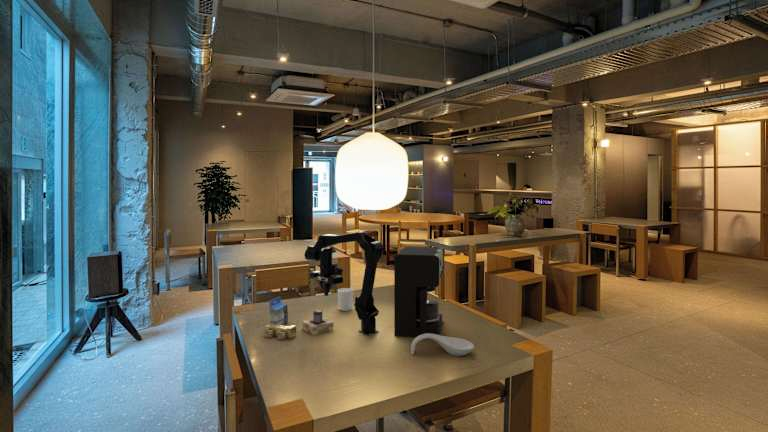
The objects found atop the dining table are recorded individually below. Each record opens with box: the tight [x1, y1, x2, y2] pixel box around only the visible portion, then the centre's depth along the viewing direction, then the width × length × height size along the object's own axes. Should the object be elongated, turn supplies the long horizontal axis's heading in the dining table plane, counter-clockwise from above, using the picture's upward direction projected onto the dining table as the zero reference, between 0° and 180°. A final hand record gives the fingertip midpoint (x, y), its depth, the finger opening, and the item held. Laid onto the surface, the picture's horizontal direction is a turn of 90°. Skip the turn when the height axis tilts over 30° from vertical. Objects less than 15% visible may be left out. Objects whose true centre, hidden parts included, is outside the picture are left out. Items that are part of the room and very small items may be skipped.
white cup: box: [337, 287, 354, 312], centre depth 206 cm, size 8×8×10 cm
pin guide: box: [264, 329, 287, 340], centre depth 169 cm, size 9×7×3 cm
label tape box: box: [268, 295, 289, 326], centre depth 182 cm, size 9×4×12 cm, turn 161°
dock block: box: [301, 317, 334, 336], centre depth 176 cm, size 10×10×4 cm
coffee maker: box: [393, 246, 445, 340], centre depth 175 cm, size 28×20×35 cm
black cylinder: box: [312, 309, 323, 325], centre depth 176 cm, size 4×4×8 cm
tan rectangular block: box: [264, 323, 297, 339], centre depth 169 cm, size 13×4×4 cm, turn 68°
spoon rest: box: [410, 333, 475, 357], centre depth 151 cm, size 24×12×7 cm, turn 92°
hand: (326, 295), depth 183 cm, fingers closed
